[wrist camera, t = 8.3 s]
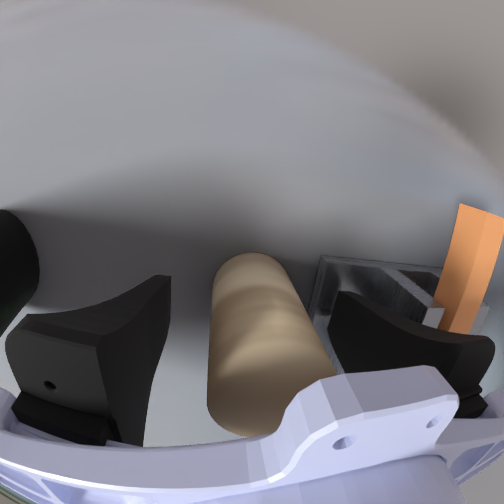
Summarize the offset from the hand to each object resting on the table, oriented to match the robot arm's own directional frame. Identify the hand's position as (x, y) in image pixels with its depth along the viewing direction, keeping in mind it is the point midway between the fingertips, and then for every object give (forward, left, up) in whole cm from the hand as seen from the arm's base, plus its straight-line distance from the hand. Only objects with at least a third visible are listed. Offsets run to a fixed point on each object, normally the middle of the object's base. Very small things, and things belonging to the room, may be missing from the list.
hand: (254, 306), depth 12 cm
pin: (+2, -8, +2) cm, 9 cm away
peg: (0, 0, -2) cm, 2 cm away
